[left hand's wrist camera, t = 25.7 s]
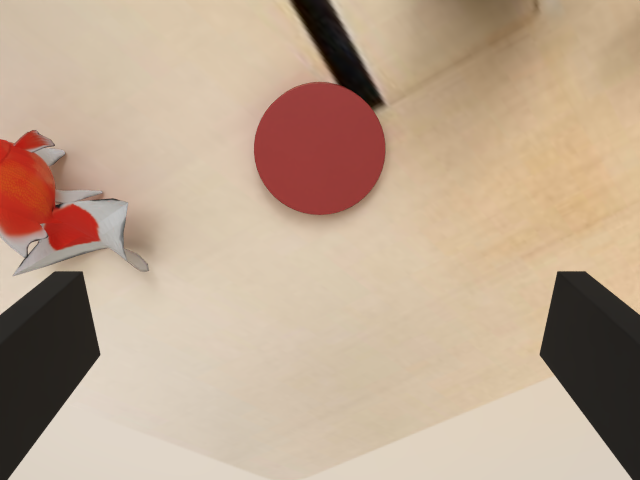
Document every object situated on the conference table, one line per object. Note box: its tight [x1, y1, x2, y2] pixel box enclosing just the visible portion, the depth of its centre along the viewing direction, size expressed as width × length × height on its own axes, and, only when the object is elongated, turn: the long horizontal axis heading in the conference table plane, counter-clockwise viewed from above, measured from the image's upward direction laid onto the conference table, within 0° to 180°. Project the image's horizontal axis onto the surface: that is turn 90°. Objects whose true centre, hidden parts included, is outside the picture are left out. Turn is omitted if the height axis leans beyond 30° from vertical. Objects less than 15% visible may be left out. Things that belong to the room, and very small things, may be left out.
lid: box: [254, 82, 385, 215], centre depth 36 cm, size 10×10×2 cm
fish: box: [0, 130, 149, 276], centre depth 35 cm, size 11×16×10 cm
